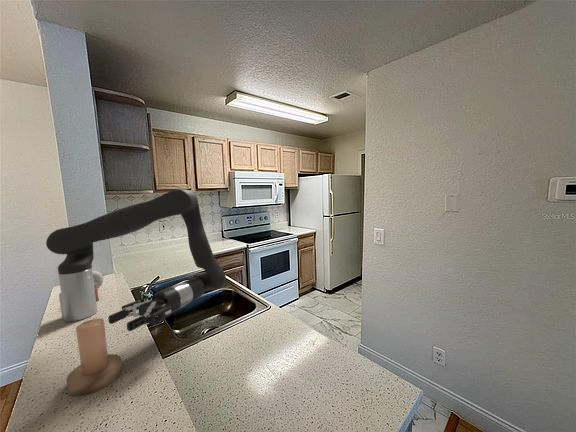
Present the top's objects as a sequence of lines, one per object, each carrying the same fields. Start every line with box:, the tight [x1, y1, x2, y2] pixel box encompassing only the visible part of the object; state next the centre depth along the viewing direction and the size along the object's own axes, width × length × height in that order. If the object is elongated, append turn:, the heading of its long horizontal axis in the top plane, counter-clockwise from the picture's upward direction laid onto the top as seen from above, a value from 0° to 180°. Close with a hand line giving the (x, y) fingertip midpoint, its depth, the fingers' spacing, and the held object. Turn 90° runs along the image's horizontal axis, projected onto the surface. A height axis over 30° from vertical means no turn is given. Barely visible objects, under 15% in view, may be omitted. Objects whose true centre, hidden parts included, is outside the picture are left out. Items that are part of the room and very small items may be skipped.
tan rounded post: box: [75, 318, 109, 376], centre depth 56 cm, size 5×5×11 cm
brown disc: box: [66, 353, 123, 397], centre depth 56 cm, size 10×10×2 cm
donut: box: [92, 270, 104, 290], centre depth 111 cm, size 10×4×10 cm, turn 140°
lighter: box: [93, 278, 100, 303], centre depth 101 cm, size 8×3×10 cm, turn 62°
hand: (118, 323), depth 60 cm, fingers open, 8 cm apart
